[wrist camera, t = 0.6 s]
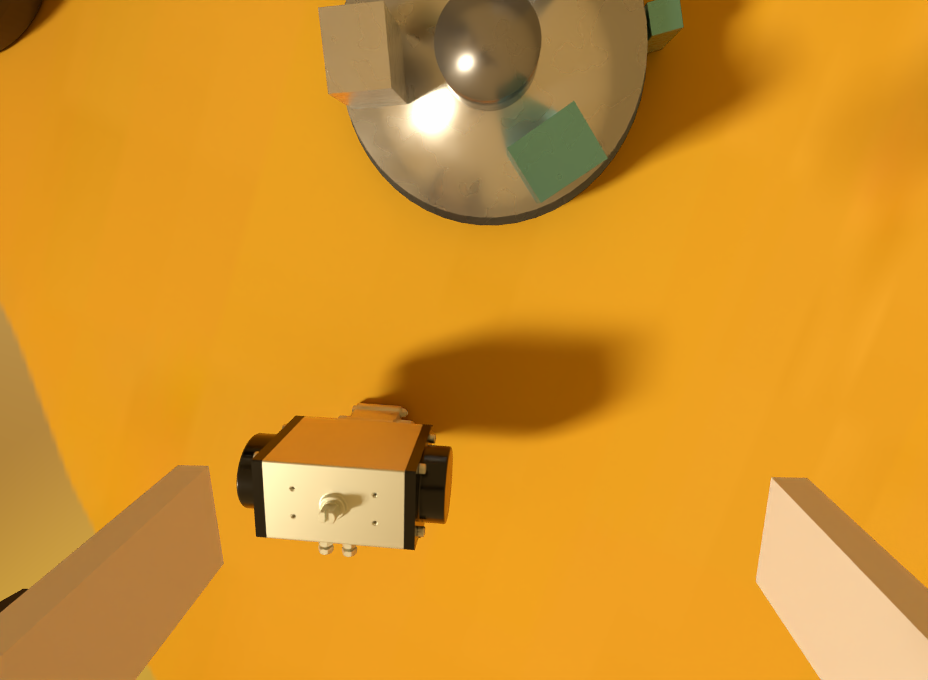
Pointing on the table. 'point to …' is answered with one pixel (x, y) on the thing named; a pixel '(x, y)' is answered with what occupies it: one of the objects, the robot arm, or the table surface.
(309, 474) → the pneumatic valve
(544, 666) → the table surface
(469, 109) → the lathe chuck
